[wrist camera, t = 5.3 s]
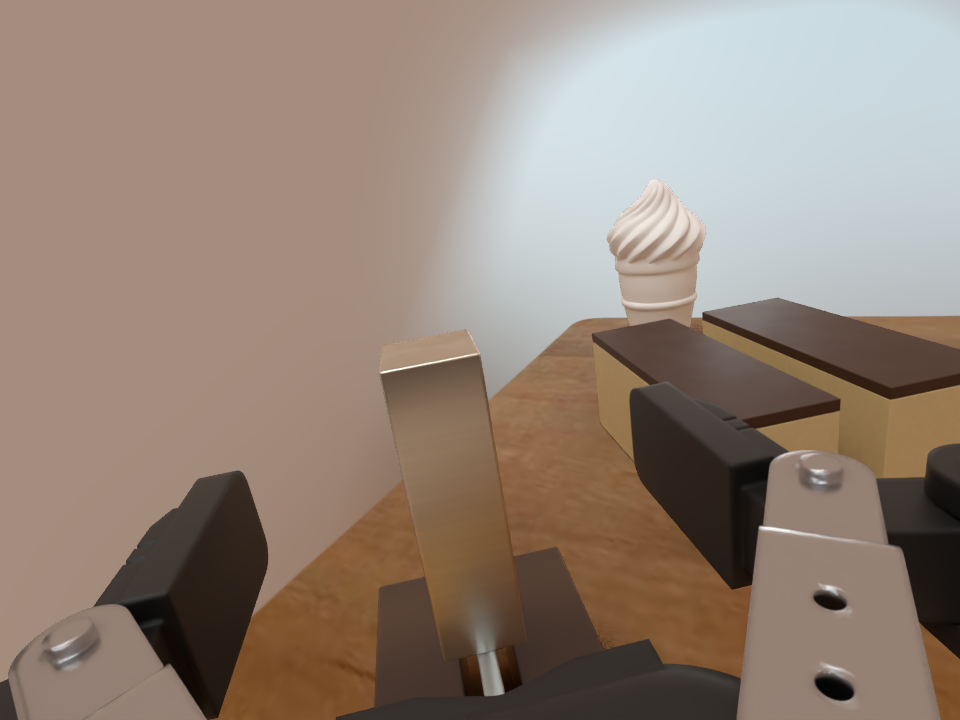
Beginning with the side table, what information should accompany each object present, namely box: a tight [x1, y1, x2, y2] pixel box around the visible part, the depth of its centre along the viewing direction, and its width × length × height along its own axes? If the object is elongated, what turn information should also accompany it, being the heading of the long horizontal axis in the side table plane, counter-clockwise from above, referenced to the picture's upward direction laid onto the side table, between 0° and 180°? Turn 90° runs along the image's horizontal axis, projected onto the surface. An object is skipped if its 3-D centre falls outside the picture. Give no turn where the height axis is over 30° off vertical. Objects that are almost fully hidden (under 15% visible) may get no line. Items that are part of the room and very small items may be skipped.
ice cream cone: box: [607, 179, 706, 328], centre depth 50 cm, size 8×8×16 cm
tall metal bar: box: [379, 330, 527, 696], centre depth 15 cm, size 10×2×15 cm, turn 8°
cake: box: [592, 298, 960, 478], centre depth 33 cm, size 16×14×7 cm
